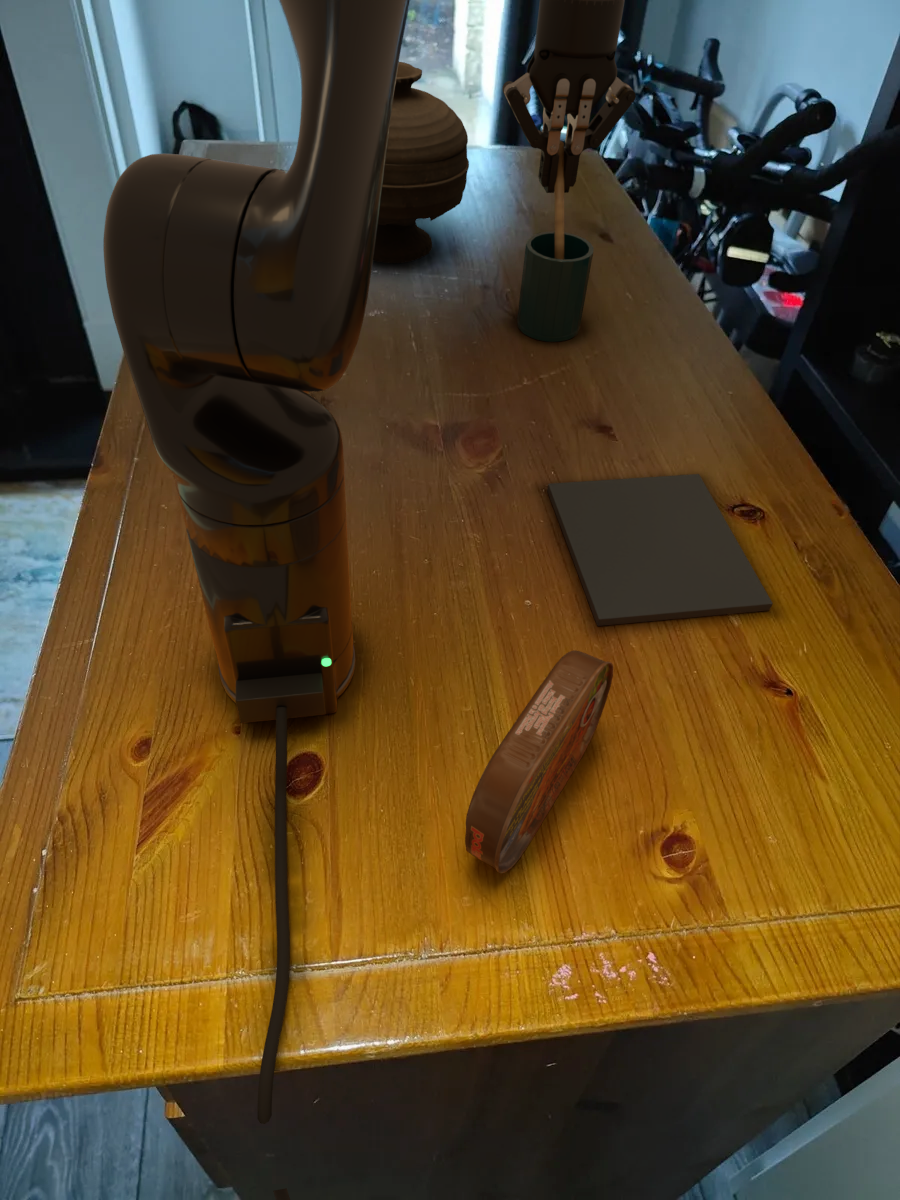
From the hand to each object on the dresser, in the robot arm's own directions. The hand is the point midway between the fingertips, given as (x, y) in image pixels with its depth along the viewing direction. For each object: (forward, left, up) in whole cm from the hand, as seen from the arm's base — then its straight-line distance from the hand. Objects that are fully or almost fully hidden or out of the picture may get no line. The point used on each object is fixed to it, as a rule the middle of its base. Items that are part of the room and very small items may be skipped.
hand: (555, 189), depth 87 cm
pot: (+17, +15, -13) cm, 26 cm away
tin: (-61, +15, -13) cm, 64 cm away
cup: (-4, 0, -13) cm, 14 cm away
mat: (-40, 0, -13) cm, 42 cm away
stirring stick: (-3, 0, -2) cm, 4 cm away
